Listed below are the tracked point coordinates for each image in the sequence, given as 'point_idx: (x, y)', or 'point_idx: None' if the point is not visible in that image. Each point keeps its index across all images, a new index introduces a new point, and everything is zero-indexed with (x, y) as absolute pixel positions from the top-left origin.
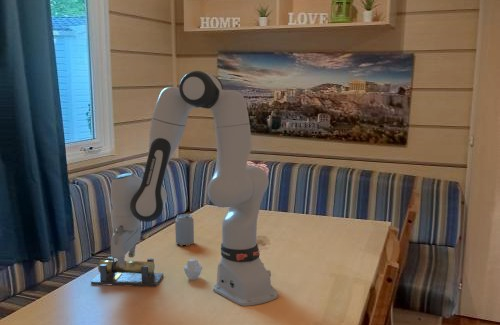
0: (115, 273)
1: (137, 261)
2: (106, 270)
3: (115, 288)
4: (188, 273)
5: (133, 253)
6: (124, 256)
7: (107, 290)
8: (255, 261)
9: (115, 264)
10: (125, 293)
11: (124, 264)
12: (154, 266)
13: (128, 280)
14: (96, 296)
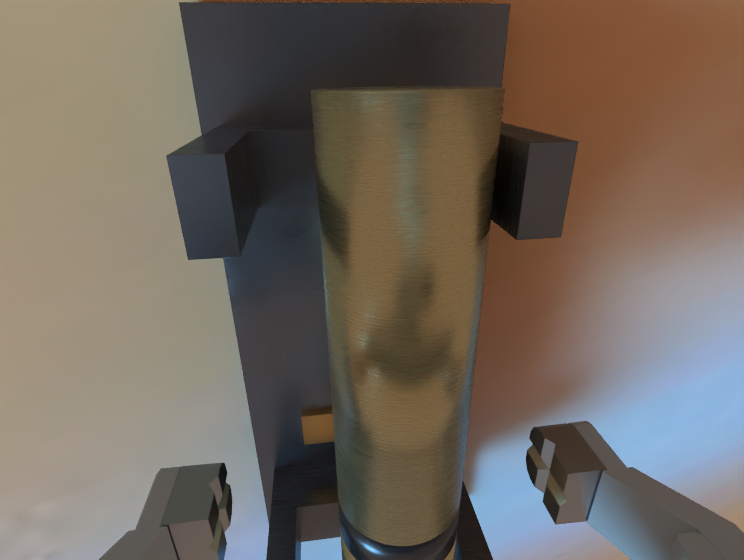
0: (292, 456)
1: (407, 351)
2: (463, 524)
3: (513, 354)
4: None
5: (208, 506)
6: (704, 550)
7: (543, 387)
8: None
9: (452, 523)
10: (608, 254)
11: (606, 445)
12: (317, 90)
13: None
14: (626, 407)
